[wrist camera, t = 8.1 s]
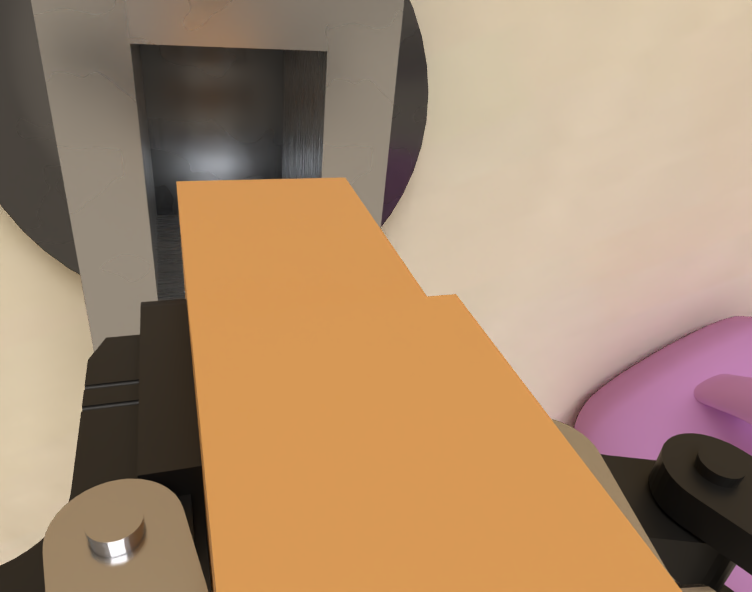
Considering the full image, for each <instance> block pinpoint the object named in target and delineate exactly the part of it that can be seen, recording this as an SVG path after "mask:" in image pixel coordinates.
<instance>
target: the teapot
mask: <svg viewBox="0 0 752 592" xmlns="http://www.w3.org/2000/svg"><path fill="white" fill-rule="evenodd" d="M574 429H576V430H577V431H579V432H580V433H582V434H583V435H584V436H586V437H587V438H588V439H589V440H590V441H591V442H592V443H593V444H594V445H595V447H596V448H597V450H598V451H599V453H600V454H604V455H611V456H621V457H630V458H640V459H649V460H657V458H658V456H659V453H660V451H661V449H662V447H663V445H664V443H665V442H666V441H667V440H668V439H669V438H671V437H672V436H675V435H678V434H684V433H696V434H703V435H707V436H712V437H715V438H718V439H721V440H723V441H725V442H728V443H730V444H732V445H734V446H736V447H737V448H739V449H741V450H743V451H744V452H746V453H748V454H749V455H751V456H752V317H745V316H734V317H730V318H726V319H722V320H720V321H718V322H715V323H713V324H710V325H708V326H705V327H703V328H701V329H699V330H697V331H695V332H693V333H691V334H689V335H687V336H685V337H683V338H681V339H679V340H677V341H675V342H674V343H672V344H670V345H668V346H666V347H664V348H662V349H660V350H659V351H657V352H655V353H654V354H652V355H650V356H649V357H647V358H645V359H644V360H642V361H640V362H639V363H637V364H635V365H634V366H632V367H631V368H629V369H628V370H626V371H624V372H623V373H621V374H620V375H618V376H617V377H615V378H614V379H613V380H611V381H610V382H608V383H607V384H606V385H604V386H603V387H601V388H600V389H599V390H598V391H597V392H596V393H595V394H594V395H592V396H591V397H590V398H589V400H588V401H587V402H586V403H585V405H584V406H583V408H582V409H581V411H580V413H579V415H578V417H577V420H576V423H575V426H574ZM725 585H726V586H727V587H729V588H730V589H731V590H733V591H734V592H752V575H750V574H749V573H747V572H746V571H745V570H743V569H742V568H740V567H739V566H738V565H736V566H735V568H734V569H733V571H732V572H731V574H730V576H729V577H728V579H727V580H726V582H725Z"/></svg>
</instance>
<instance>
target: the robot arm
mask: <svg viewBox="0 0 752 592" xmlns="http://www.w3.org/2000/svg"><path fill="white" fill-rule="evenodd" d="M551 420H552V421H553V422H554V424H555V425H556V426H557V428H558V429H559V430H560V432H561V433H562V434H563V435H564V437H565V438H566V439H567V441H568V442H569V443H570V445H571V446H572V447H573V449H574V450H575V451H576V453H577V454H578V455H579V456H580V458H581V459H582V460H583V462H584V463H585V464H586V466H587V467H588V468H589V470H590V471H591V472H592V474H593V475H594V476H595V477H596V479H597V480H598V481H599V483H600V484H601V485H602V487H603V488H604V489H605V491H606V492H607V493H608V495H609V496H610V497H611V498H612V500H613V501H614V502H615V504H616V505H617V506H618V508H619V509H620V510H621V512H622V513H623V514H624V516H625V517H626V518H627V519H628V521H629V522H630V523H631V525H632V526H633V527H634V529H635V530H636V531H637V533H638V534H639V535H640V537H641V538H642V539H643V540H644V542H645V543H646V544H647V546H648V547H649V548H650V550H651V551H652V552H653V554H654V555H655V556H656V558H657V559H658V560H659V561H660V563H661V564H662V565H663V567H664V568H665V569H666V571H667V572H668V573H669V575H670V576H671V577H672V579H673V580H674V581H675V582H676V584H677V585H678V586H679V588H680V589H681V590H682V592H734V591H733V590H731V589H730V588H729V587H727V586H726V585H725V582H726V580H727V579H728V577H729V576H730V574H731V572H732V571H733V569H734V568H735V566H736V565H738V566H739V567H740V568H742V569H743V570H745V571H746V572H747V573H749V574H750V575H752V456H751V455H749V454H748V453H746V452H744V451H743V450H741V449H739V448H737V447H736V446H734V445H732V444H730V443H728V442H725V441H723V440H721V439H718V438H715V437H712V436H707V435H703V434H696V433H684V434H678V435H675V436H672V437H671V438H669V439H668V440H667V441H666V442H665V443H664V445H663V447H662V449H661V451H660V453H659V456H658V458H657V460H649V459H640V458H630V457H621V456H611V455H604V454H600V453H599V451H598V450H597V448H596V447H595V445H594V444H593V443H592V442H591V441H590V440H589V439H588V438H587V437H586V436H584V435H583V434H582V433H580V432H579V431H577V430H576V429H574V428H572V427H571V426H569V425H567V424H564V423H562V422H559V421H556V420H553V419H551ZM0 592H211V580H210V566H209V553H208V540H207V526H206V513H205V500H204V487H203V473H202V461H201V450H200V439H199V429H198V418H197V407H196V396H195V385H194V375H193V364H192V353H191V342H190V331H189V321H188V310H187V299H174V300H161V301H147V302H141V307H140V335H129V336H118V337H107V338H105V339H104V341H103V342H102V343H101V344H100V346H99V347H98V348H97V350H96V351H95V352H94V353H93V355H92V356H91V357H90V358H89V360H88V364H87V372H86V380H85V390H84V395H83V403H82V412H81V418H80V426H79V434H78V441H77V449H76V457H75V465H74V472H73V480H72V488H71V495H70V499H69V502H68V503H67V504H66V505H65V506H64V507H63V508H62V509H61V510H60V511H59V512H58V513H57V514H56V516H55V517H54V519H53V520H52V521H51V523H50V525H49V527H48V529H47V531H46V533H45V537H44V538H43V539H42V540H41V541H40V542H38V543H37V544H36V545H35V546H33V547H32V548H31V549H29V550H28V551H26V552H25V553H23V554H21V555H20V556H18V557H17V558H15V559H13V560H11V561H9V562H7V563H5V564H3V565H1V566H0Z"/></svg>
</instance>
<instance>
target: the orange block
mask: <svg viewBox="0 0 752 592" xmlns="http://www.w3.org/2000/svg"><path fill="white" fill-rule="evenodd" d="M176 185H177V197H178V210H179V223H180V235H181V248H182V260H183V273H184V286H185V298H186V299H187V310H188V321H189V331H190V342H191V353H192V364H193V375H194V385H195V396H196V407H197V418H198V429H199V439H200V450H201V461H202V473H203V487H204V500H205V513H206V526H207V540H208V553H209V566H210V580H211V592H682V590H681V589H680V588H679V586H678V585H677V584H676V582H675V581H674V580H673V579H672V577H671V576H670V575H669V573H668V572H667V571H666V569H665V568H664V567H663V565H662V564H661V563H660V561H659V560H658V559H657V558H656V556H655V555H654V554H653V552H652V551H651V550H650V548H649V547H648V546H647V544H646V543H645V542H644V540H643V539H642V538H641V537H640V535H639V534H638V533H637V531H636V530H635V529H634V527H633V526H632V525H631V523H630V522H629V521H628V519H627V518H626V517H625V516H624V514H623V513H622V512H621V510H620V509H619V508H618V506H617V505H616V504H615V502H614V501H613V500H612V498H611V497H610V496H609V495H608V493H607V492H606V491H605V489H604V488H603V487H602V485H601V484H600V483H599V481H598V480H597V479H596V477H595V476H594V475H593V474H592V472H591V471H590V470H589V468H588V467H587V466H586V464H585V463H584V462H583V460H582V459H581V458H580V456H579V455H578V454H577V453H576V451H575V450H574V449H573V447H572V446H571V445H570V443H569V442H568V441H567V439H566V438H565V437H564V435H563V434H562V433H561V432H560V430H559V429H558V428H557V426H556V425H555V424H554V422H553V421H552V420H551V418H550V417H549V416H548V414H547V413H546V412H545V411H544V409H543V408H542V407H541V405H540V404H539V403H538V401H537V400H536V399H535V397H534V396H533V395H532V393H531V392H530V391H529V390H528V388H527V387H526V386H525V384H524V383H523V382H522V380H521V379H520V378H519V376H518V375H517V374H516V372H515V371H514V370H513V369H512V367H511V366H510V365H509V363H508V362H507V361H506V359H505V358H504V357H503V355H502V354H501V353H500V351H499V350H498V349H497V347H496V346H495V345H494V344H493V342H492V341H491V340H490V338H489V337H488V336H487V334H486V333H485V332H484V330H483V329H482V328H481V326H480V325H479V324H478V323H477V321H476V320H475V319H474V317H473V316H472V315H471V313H470V312H469V311H468V309H467V308H466V307H465V305H464V304H463V303H462V302H461V300H460V299H459V298H458V296H457V295H456V294H453V295H441V296H429V297H427V296H426V294H425V293H424V292H423V290H422V289H421V287H420V286H419V284H418V283H417V281H416V280H415V278H414V277H413V275H412V274H411V273H410V271H409V270H408V268H407V267H406V265H405V264H404V262H403V261H402V259H401V258H400V257H399V255H398V254H397V252H396V251H395V249H394V248H393V246H392V245H391V243H390V242H389V240H388V239H387V238H386V236H385V235H384V233H383V232H382V230H381V229H380V227H379V226H378V224H377V223H376V222H375V220H374V219H373V217H372V216H371V214H370V213H369V211H368V210H367V208H366V207H365V205H364V204H363V203H362V201H361V200H360V198H359V197H358V195H357V194H356V192H355V191H354V189H353V188H352V187H351V185H350V184H349V182H348V181H347V179H346V178H300V179H256V180H212V181H176Z"/></svg>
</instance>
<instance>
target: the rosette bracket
mask: <svg viewBox="0 0 752 592" xmlns="http://www.w3.org/2000/svg"><path fill="white" fill-rule="evenodd" d="M427 103H428V79H427V64H426V58H425V52H424V46H423V41H422V36H421V32H420V29H419V26H418V23H417V19H416V16H415V13H414V10H413V7H412V5H411V2H410V0H0V204H1V206H2V207H3V208H4V210H5V211H6V212H7V213H8V214H9V215H10V217H11V218H12V219H13V220H14V221H15V222H16V224H17V225H18V226H19V227H20V228H21V229H22V230H23V231H24V232H25V233H26V234H27V235H28V236H29V237H30V238H31V239H32V240H33V241H35V242H36V243H37V244H38V245H39V246H40V247H41V248H42V249H43V250H44V251H46V252H47V253H48V254H50V255H51V256H52V257H54V258H55V259H57V260H58V261H59V262H61V263H62V264H64V265H65V266H66V267H68V268H69V269H71V270H73V271H74V272H76V273H78V274H80V276H81V282H82V287H83V293H84V298H85V304H86V309H87V315H88V320H89V326H90V332H91V337H92V343H93V348H94V352H95V351H96V350H97V348H98V347H99V346H100V344H101V343H102V342H103V341H104V339H105V338H107V337H118V336H129V335H140V307H141V302H147V301H161V300H174V299H186V298H185V286H184V273H183V260H182V248H181V235H180V223H179V210H178V197H177V185H176V181H212V180H256V179H300V178H346V179H347V181H348V182H349V184H350V185H351V187H352V188H353V189H354V191H355V192H356V194H357V195H358V197H359V198H360V200H361V201H362V203H363V204H364V205H365V207H366V208H367V210H368V211H369V213H370V214H371V216H372V217H373V219H374V220H375V222H376V223H377V224H378V226H379V227H380V229H381V226H382V225H383V223H384V222H385V221H386V220H387V218H388V217H389V216H390V214H391V213H392V211H393V209H394V208H395V206H396V204H397V203H398V201H399V200H400V198H401V196H402V195H403V193H404V190H405V188H406V186H407V184H408V182H409V179H410V177H411V175H412V173H413V171H414V168H415V164H416V161H417V158H418V155H419V152H420V149H421V145H422V140H423V135H424V130H425V125H426V117H427Z"/></svg>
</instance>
